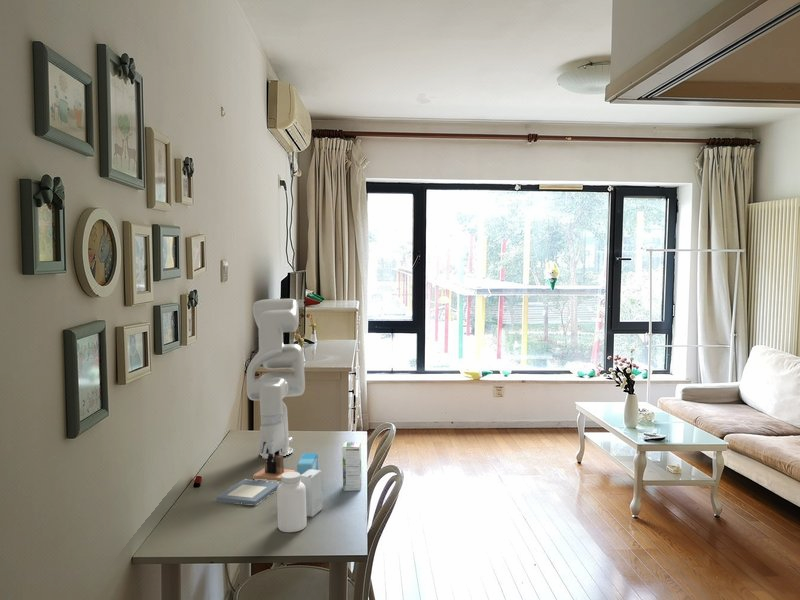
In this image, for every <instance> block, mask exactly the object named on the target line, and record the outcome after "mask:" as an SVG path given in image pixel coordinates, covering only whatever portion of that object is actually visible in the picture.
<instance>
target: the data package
mask: <svg viewBox="0 0 800 600" xmlns="http://www.w3.org/2000/svg"><path fill="white" fill-rule="evenodd" d="M296 468H297V470H296V472H298V473H300V475H302V474H303V473H305V472H306V471H308V470H309V469H314V470H319V457H318V453H317V452H315V453H314V452H313V453H312V452H309V453H308V452H307V453H303V454H301V457H300V459H299V461H298V462H297V466H296Z"/></svg>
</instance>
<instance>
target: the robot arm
mask: <svg viewBox="0 0 800 600" xmlns="http://www.w3.org/2000/svg"><path fill="white" fill-rule="evenodd" d="M299 311H300V309H299V304H298V301H297V300H296V299H294V298H272V299H271V298H269V299H268V298H267V299H260V300H257V301H255V302H253V306H252V314H253V318H254V322H255V323H256V326H257V328H258V352H257V353H256V354H255V355H254V357H253V358H252V359H251V361H250V362H249V364H248V367H247V369H246V386H245V387H246V394H247V397H248V399H249V400H251V401H259V408H260V411H259V412H260V414H259V415H260V427H259V433H258V434H259V436H258V437H259V439H258V447H259V456H260V455H261V456H262V457H261V456H260V457H261V458H262V459H263V460H264V459H266V462H267V472H268V473H276V462H275V455H283V456H286V455H289V454H291V453H292V454H293V453H294V448H293V447H291V446H290V444H291V443H292V442H294V438H293V437H292V436H290V437H289V421H288V420H289V419H288V418H289V417H288V407H287V405H286V403H285V402H284V400H283V399H285V398H287V397H298V396H302V395H303V394H304V392H305V389H306V379H305V360H304V352H303V348H302V346H301V345H300V344H297V343H288V344H286V343H285V344H284V333H294V332H296V331H297V330H298V329H299V324H300V321H299V320H300V315H299ZM261 365H262V366H263V368H264V369H265V370H286V369H287V370H288V369H290V370H292V371H275V372H267V373H264V374H262V375H261V376H260V377H259V378H255V375H256V371H257V370H258V368H259V367H261ZM292 454H291V455H292ZM269 455H272V457H271V456H269ZM289 456H290V455H289ZM286 457H287V456H286Z"/></svg>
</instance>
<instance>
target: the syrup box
mask: <svg viewBox="0 0 800 600" xmlns="http://www.w3.org/2000/svg"><path fill="white" fill-rule="evenodd" d="M341 449H342V450H341V451H342V486H343V487H342V490H343V492H354V491H362V484H363V479H362V478H363V477H362V474H363V473H362V442H360V441H346V442H343V445H342V448H341Z"/></svg>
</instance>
